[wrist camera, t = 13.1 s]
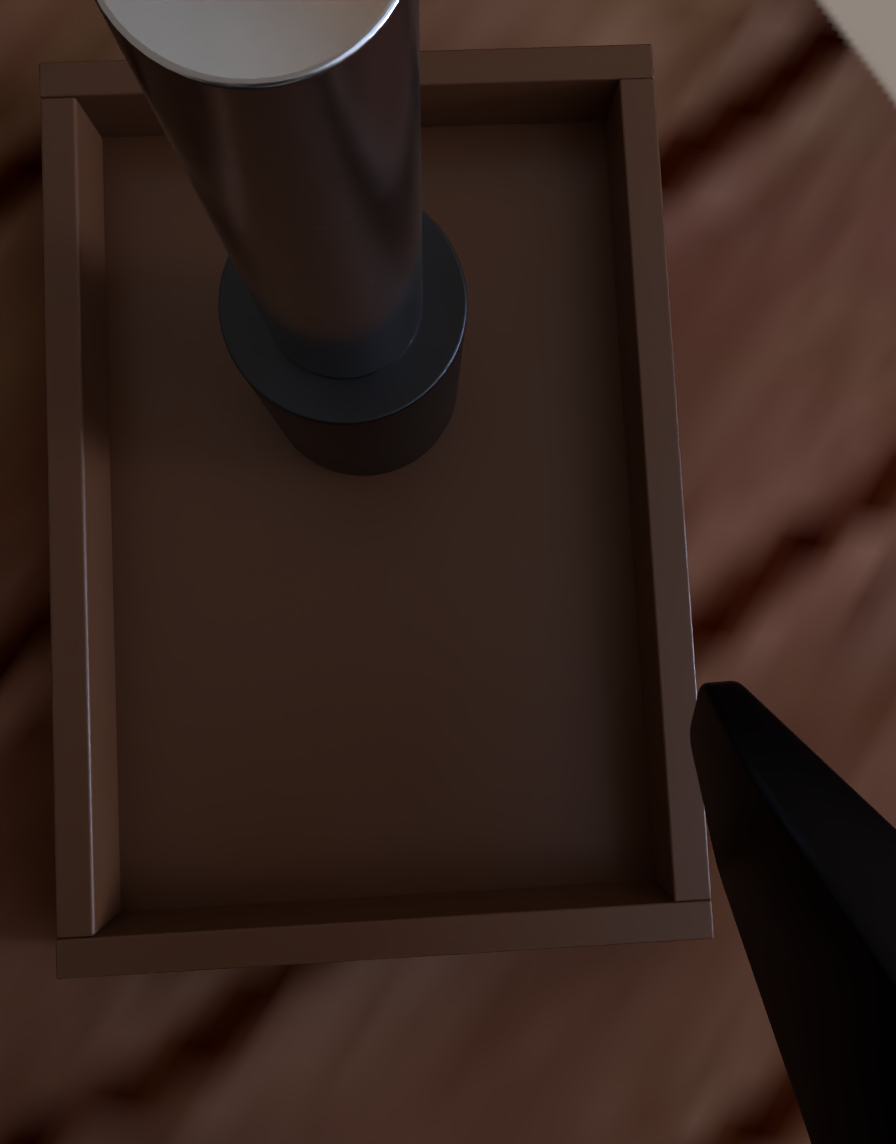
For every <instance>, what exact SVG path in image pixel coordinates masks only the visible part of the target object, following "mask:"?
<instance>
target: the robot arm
mask: <svg viewBox="0 0 896 1144" xmlns="http://www.w3.org/2000/svg"><path fill="white" fill-rule="evenodd" d="M690 744H691V749H692V754H693V759H694V763H695V768H696V772H697V777H698V781H699V786H700V791H701V795H702V800H703V804H704V809H705V814H706V818H707V823H708V827H709V832H710V836H711V841H712V846H713V850H714V854H715V858H716V863H717V867H718V870H719V873H720V877H721V880H722V883H723V886H724V889H725V892H726V895H727V898H728V901H729V904H730V907H731V910H732V913H733V916H734V919H735V921H736V924H737V927H738V930H739V933H740V936H741V939H742V942H743V945H744V948H745V951H746V954H747V957H748V959H749V962H750V965H751V968H752V971H753V974H754V977H755V980H756V983H757V986H758V989H759V992H760V995H761V997H762V1000H763V1003H764V1006H765V1009H766V1012H767V1015H768V1018H769V1021H770V1024H771V1027H772V1030H773V1033H774V1035H775V1038H776V1041H777V1044H778V1047H779V1050H780V1053H781V1056H782V1059H783V1062H784V1065H785V1068H786V1070H787V1073H788V1076H789V1079H790V1082H791V1085H792V1088H793V1091H794V1094H795V1097H796V1100H797V1103H798V1106H799V1108H800V1111H801V1114H802V1117H803V1120H804V1123H805V1126H806V1129H807V1132H808V1135H809V1138H810V1141H811V1144H896V829H895V828H894V827H893V826H892V825H891V824H890V823H889V822H888V821H886V820H885V819H884V818H883V817H882V816H881V815H880V814H879V813H878V812H877V811H876V810H875V809H874V808H873V807H872V806H871V805H869V804H868V803H867V802H866V801H865V800H864V799H863V798H862V797H861V796H860V795H859V794H858V793H857V792H856V791H855V790H854V789H852V788H851V787H850V786H849V785H848V784H847V783H846V782H845V781H844V780H843V779H842V778H841V777H840V776H839V775H838V774H836V773H835V772H834V771H833V770H832V769H831V768H830V767H829V766H828V765H827V764H826V763H825V762H824V761H823V760H822V759H821V758H819V757H818V756H817V755H816V754H815V753H814V752H813V751H812V750H811V749H810V748H809V747H808V746H807V745H806V744H805V743H804V742H802V741H801V740H800V739H799V738H798V737H797V736H796V735H795V734H794V733H793V732H792V731H791V730H790V729H789V728H788V727H787V726H785V725H784V724H783V723H782V722H781V721H780V720H779V719H778V718H777V717H776V716H775V715H774V714H773V713H772V712H771V711H769V710H768V709H767V708H766V707H765V706H764V705H763V704H762V703H761V702H760V701H759V700H758V699H757V698H756V697H755V696H754V695H752V694H751V693H750V692H749V691H748V690H747V689H746V688H745V687H744V686H743V685H741V684H740V683H738V682H735V681H724V682H711V683H705V684H703V685H702V686H701V687H700V689H699V692H698V696H697V700H696V705H695V709H694V713H693V717H692V721H691V726H690Z"/></svg>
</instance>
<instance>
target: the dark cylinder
mask: <svg viewBox="0 0 896 1144" xmlns="http://www.w3.org/2000/svg"><path fill="white" fill-rule="evenodd" d="M95 1H96V3H97V5H98V7H99V9H100V11H101V13H102V15H103V17H104V19H105V20H106V22H107V24H108V26H109V28H110V30H111V32H112V34H113V36H114V38H115V39H116V41H117V43H118V45H119V47H120V49H121V51H122V53H123V55H124V57H125V58H126V60H127V62H128V64H129V66H130V68H131V70H132V72H133V74H134V76H135V77H136V79H137V81H138V83H139V85H140V87H141V89H142V91H143V93H144V95H145V96H146V98H147V100H148V102H149V104H150V106H151V108H152V110H153V112H154V114H155V115H156V117H157V119H158V121H159V123H160V125H161V127H162V129H163V131H164V133H165V134H166V136H167V138H168V140H169V142H170V144H171V146H172V148H173V150H174V152H175V153H176V155H177V157H178V159H179V161H180V163H181V165H182V167H183V169H184V171H185V172H186V174H187V176H188V178H189V180H190V182H191V184H192V186H193V188H194V190H195V191H196V193H197V195H198V197H199V199H200V201H201V203H202V205H203V207H204V209H205V210H206V212H207V214H208V216H209V218H210V220H211V222H212V224H213V226H214V228H215V229H216V231H217V233H218V235H219V237H220V239H221V241H222V243H223V245H224V247H225V248H226V250H227V252H228V254H229V256H228V258H227V260H226V263H225V266H224V270H223V273H222V276H221V282H220V288H219V302H218V309H219V319H220V326H221V330H222V334H223V338H224V341H225V344H226V346H227V349H228V351H229V354H230V356H231V358H232V359H233V361H234V363H235V365H236V367H237V368H238V370H239V371H240V372H241V374H242V375H243V377H244V378H245V379H246V381H247V382H248V384H249V385H250V386H251V388H252V389H253V391H254V392H255V393H256V395H257V396H258V397H259V399H260V400H261V402H262V403H263V404H264V406H265V407H266V409H267V410H268V411H269V413H270V414H271V415H272V417H273V418H274V420H275V421H276V422H277V424H278V425H279V427H280V428H281V429H282V431H283V432H284V433H285V435H286V436H287V437H288V439H289V440H290V442H291V443H292V444H293V445H294V446H295V447H296V448H297V449H298V450H299V451H300V452H301V453H303V454H304V455H305V456H306V457H308V458H309V459H310V460H312V461H314V462H315V463H317V464H319V465H321V466H323V467H325V468H327V469H330V470H332V471H336V472H339V473H343V474H349V475H360V476H369V475H378V474H383V473H388V472H392V471H394V470H397V469H400V468H402V467H404V466H406V465H408V464H410V463H412V462H414V461H415V460H417V459H418V458H419V457H421V456H422V455H423V454H425V453H426V452H427V451H428V450H429V449H430V448H431V447H432V446H433V445H434V444H435V443H436V441H437V440H438V439H439V438H440V436H441V435H442V433H443V432H444V430H445V428H446V427H447V425H448V423H449V420H450V418H451V416H452V413H453V410H454V406H455V402H456V396H457V389H458V381H459V373H460V366H461V358H462V350H463V343H464V335H465V327H466V320H467V299H468V298H467V289H466V282H465V278H464V274H463V270H462V266H461V264H460V261H459V259H458V256H457V254H456V252H455V250H454V248H453V246H452V245H451V243H450V241H449V239H448V238H447V236H446V235H445V234H444V233H443V231H442V230H441V229H440V227H439V226H438V225H437V224H436V223H435V222H434V221H433V220H432V219H431V218H430V217H429V216H428V215H427V214H426V213H425V212H424V211H422V205H421V114H420V22H419V0H95Z"/></svg>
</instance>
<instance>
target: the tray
mask: <svg viewBox="0 0 896 1144" xmlns="http://www.w3.org/2000/svg"><path fill="white" fill-rule="evenodd" d="M39 72H40V97H41V98H42V99H41V144H42V197H43V250H44V303H45V356H46V408H47V461H48V514H49V567H50V619H51V672H52V725H53V778H54V831H55V883H56V935H57V937H58V939H57V940H56V971H57V979H65V978H81V977H97V976H113V975H129V974H146V973H162V972H178V971H194V970H210V969H227V968H243V967H259V966H275V965H291V964H308V963H324V962H340V961H356V960H372V959H389V958H405V957H421V956H437V955H453V954H469V953H486V952H502V951H518V950H534V949H550V948H567V947H583V946H599V945H615V944H631V943H648V942H664V941H680V940H696V939H712V938H713V937H714V933H713V918H712V904H711V900H710V899H711V889H710V875H709V860H708V846H707V832H706V817H705V809H704V804H703V800H702V795H701V791H700V786H699V781H698V777H697V772H696V768H695V763H694V759H693V754H692V749H691V744H690V726H691V721H692V717H693V713H694V709H695V705H696V700H697V688H696V673H695V659H694V645H693V630H692V616H691V602H690V587H689V573H688V558H687V544H686V530H685V515H684V501H683V487H682V472H681V458H680V443H679V429H678V415H677V400H676V386H675V372H674V357H673V343H672V328H671V314H670V300H669V285H668V271H667V257H666V242H665V228H664V213H663V199H662V185H661V170H660V156H659V141H658V127H657V113H656V98H655V84H654V79H653V78H654V70H653V55H652V45H651V44H639V45H606V46H574V47H541V48H508V49H475V50H443V51H420V114H421V205H422V211H424V212H425V213H426V214H427V215H428V216H429V217H430V218H431V219H432V220H433V221H434V222H435V223H436V224H437V225H438V226H439V227H440V229H441V230H442V231H443V233H444V234H445V235H446V236H447V238H448V239H449V241H450V243H451V245H452V246H453V248H454V250H455V252H456V254H457V256H458V259H459V261H460V264H461V266H462V270H463V274H464V278H465V282H466V289H467V298H468V299H467V320H466V327H465V335H464V343H463V350H462V358H461V366H460V373H459V381H458V389H457V396H456V402H455V406H454V410H453V413H452V416H451V418H450V420H449V423H448V425H447V427H446V428H445V430H444V432H443V433H442V435H441V436H440V438H439V439H438V440H437V441H436V443H435V444H434V445H433V446H432V447H431V448H430V449H429V450H428V451H427V452H426V453H425V454H423V455H422V456H421V457H419V458H418V459H417V460H415V461H414V462H412V463H410V464H408V465H406V466H404V467H402V468H400V469H397V470H394V471H392V472H388V473H383V474H378V475H369V476H360V475H349V474H343V473H339V472H336V471H332V470H330V469H327V468H325V467H323V466H321V465H319V464H317V463H315V462H314V461H312V460H310V459H309V458H308V457H306V456H305V455H304V454H303V453H301V452H300V451H299V450H298V449H297V448H296V447H295V446H294V445H293V444H292V443H291V442H290V440H289V439H288V437H287V436H286V435H285V433H284V432H283V431H282V429H281V428H280V427H279V425H278V424H277V422H276V421H275V420H274V418H273V417H272V415H271V414H270V413H269V411H268V410H267V409H266V407H265V406H264V404H263V403H262V402H261V400H260V399H259V397H258V396H257V395H256V393H255V392H254V391H253V389H252V388H251V386H250V385H249V384H248V382H247V381H246V379H245V378H244V377H243V375H242V374H241V372H240V371H239V370H238V368H237V367H236V365H235V363H234V361H233V359H232V358H231V356H230V354H229V351H228V349H227V346H226V344H225V341H224V338H223V334H222V330H221V326H220V319H219V309H218V302H219V288H220V282H221V276H222V273H223V270H224V266H225V263H226V260H227V258H228V256H229V254H228V252H227V250H226V248H225V247H224V245H223V243H222V241H221V239H220V237H219V235H218V233H217V231H216V229H215V228H214V226H213V224H212V222H211V220H210V218H209V216H208V214H207V212H206V210H205V209H204V207H203V205H202V203H201V201H200V199H199V197H198V195H197V193H196V191H195V190H194V188H193V186H192V184H191V182H190V180H189V178H188V176H187V174H186V172H185V171H184V169H183V167H182V165H181V163H180V161H179V159H178V157H177V155H176V153H175V152H174V150H173V148H172V146H171V144H170V142H169V140H168V138H167V136H166V134H165V133H164V131H163V129H162V127H161V125H160V123H159V121H158V119H157V117H156V115H155V114H154V112H153V110H152V108H151V106H150V104H149V102H148V100H147V98H146V96H145V95H144V93H143V91H142V89H141V87H140V85H139V83H138V81H137V79H136V77H135V76H134V74H133V72H132V70H131V68H130V66H129V64H128V62H127V60H115V61H82V62H49V63H40V64H39Z"/></svg>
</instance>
